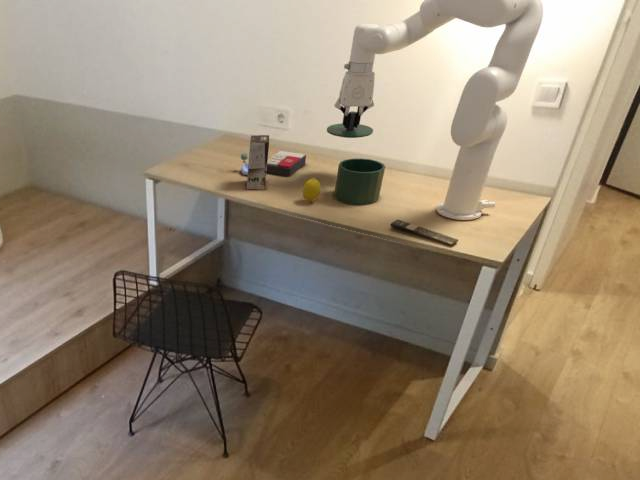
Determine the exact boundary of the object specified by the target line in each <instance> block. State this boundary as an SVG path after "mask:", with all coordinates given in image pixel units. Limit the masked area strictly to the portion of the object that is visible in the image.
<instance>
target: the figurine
mask: <svg viewBox="0 0 640 480" xmlns="http://www.w3.org/2000/svg"><path fill="white" fill-rule="evenodd" d="M240 159H241V160H242V162H243V164H242V166H241V167H240V173H241V174H242V175H243V176H248V164H249V162H247V161H246V160H248V159H249V156H248V153H247V152H242V153H241V155H240Z"/></svg>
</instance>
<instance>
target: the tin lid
mask: <svg viewBox="0 0 640 480" xmlns="http://www.w3.org/2000/svg"><path fill="white" fill-rule="evenodd" d="M356 115H357V111H354V110H353V111H349V122H348V128H345V127H344V125H343V124H342V123H334V124H331V125H329V126H327V127H326V132H327V134H330V135H332V136H335V137H340V138H346V139H356V138H365V137H369V136H371V135H373V133H374V128H373V127H371V126H368V125H365V124H359V125H358V127H357V128H355V127H354V126H355V120H356Z"/></svg>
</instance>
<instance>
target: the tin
mask: <svg viewBox="0 0 640 480" xmlns="http://www.w3.org/2000/svg"><path fill="white" fill-rule="evenodd" d="M337 167H338V168H337V173H336V179H335V186H334V191H333V197H334V199H335V200H337V201H339V202H340V203H343V204H347V205H356V206H363V205H364V206H365V205H372V204H374V203H377V201H379V197H380V195H381V191H382V190H381V189H382V186H383V180H384V176H385V170H386V165H385V164H384V163H383V162H380V161H378V160H375V159H371V158H360V157H359V158H349V159H344V160H341V161H340V162H339V164H338V166H337Z"/></svg>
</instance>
